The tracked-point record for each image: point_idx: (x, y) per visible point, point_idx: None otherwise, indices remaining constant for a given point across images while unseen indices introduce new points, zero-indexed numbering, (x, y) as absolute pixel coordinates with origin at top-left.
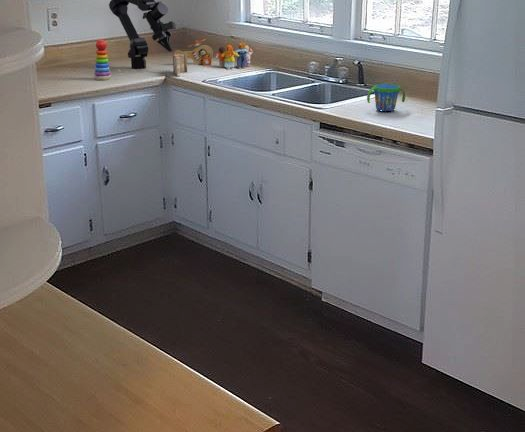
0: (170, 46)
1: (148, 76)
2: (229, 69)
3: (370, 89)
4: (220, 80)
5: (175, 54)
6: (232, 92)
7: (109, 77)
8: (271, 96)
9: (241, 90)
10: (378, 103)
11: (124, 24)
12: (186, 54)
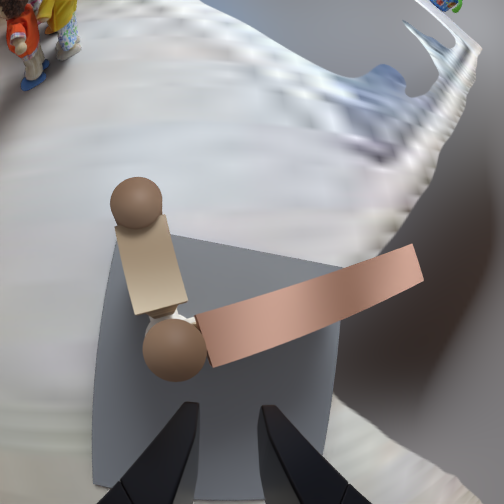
0: (190, 456)
1: None
2: (80, 45)
3: (460, 1)
4: (336, 90)
5: (205, 336)
6: (460, 110)
7: None
8: (448, 59)
9: (436, 84)
10: (450, 7)
11: None
12: (148, 186)
